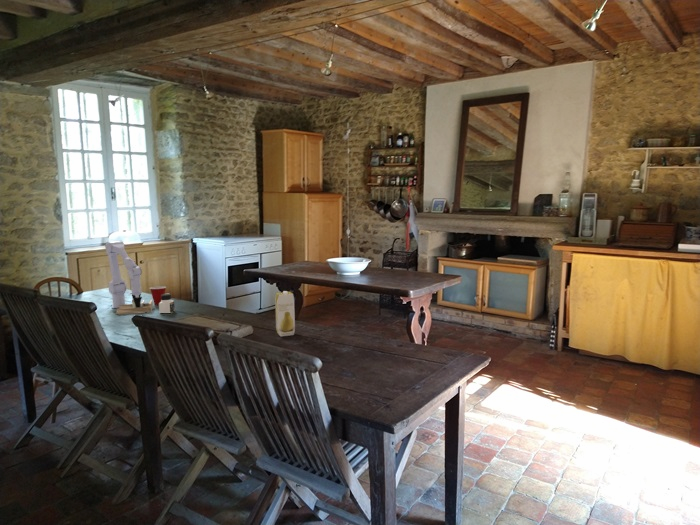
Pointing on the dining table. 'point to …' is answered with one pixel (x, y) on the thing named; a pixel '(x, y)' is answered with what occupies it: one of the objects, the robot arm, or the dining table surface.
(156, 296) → the plastic cup
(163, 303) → the medicine bottle
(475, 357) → the dining table surface
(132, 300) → the jar
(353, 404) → the dining table surface
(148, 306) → the wooden crate
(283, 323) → the juice carton
